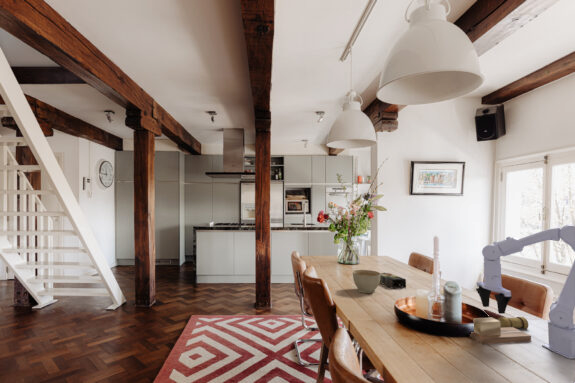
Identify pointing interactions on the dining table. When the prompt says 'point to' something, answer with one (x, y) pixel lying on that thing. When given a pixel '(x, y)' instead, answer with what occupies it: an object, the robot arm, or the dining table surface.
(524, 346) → the dining table surface
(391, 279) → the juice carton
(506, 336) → the walnut board
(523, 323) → the gavel
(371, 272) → the planter bowl
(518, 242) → the robot arm
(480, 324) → the pale gold block
